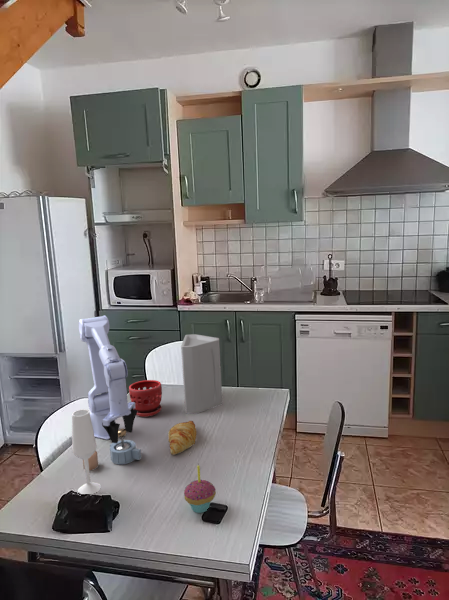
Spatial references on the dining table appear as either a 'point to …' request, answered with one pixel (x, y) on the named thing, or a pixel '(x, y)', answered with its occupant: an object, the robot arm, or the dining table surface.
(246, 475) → the dining table surface
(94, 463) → the tan rounded cylinder
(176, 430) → the croissant
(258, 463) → the dining table surface
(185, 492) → the cupcake
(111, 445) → the press pot
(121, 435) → the plunger
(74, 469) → the dining table surface
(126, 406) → the robot arm
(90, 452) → the champagne flute
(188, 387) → the grey tall triangular prism
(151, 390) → the plant pot
